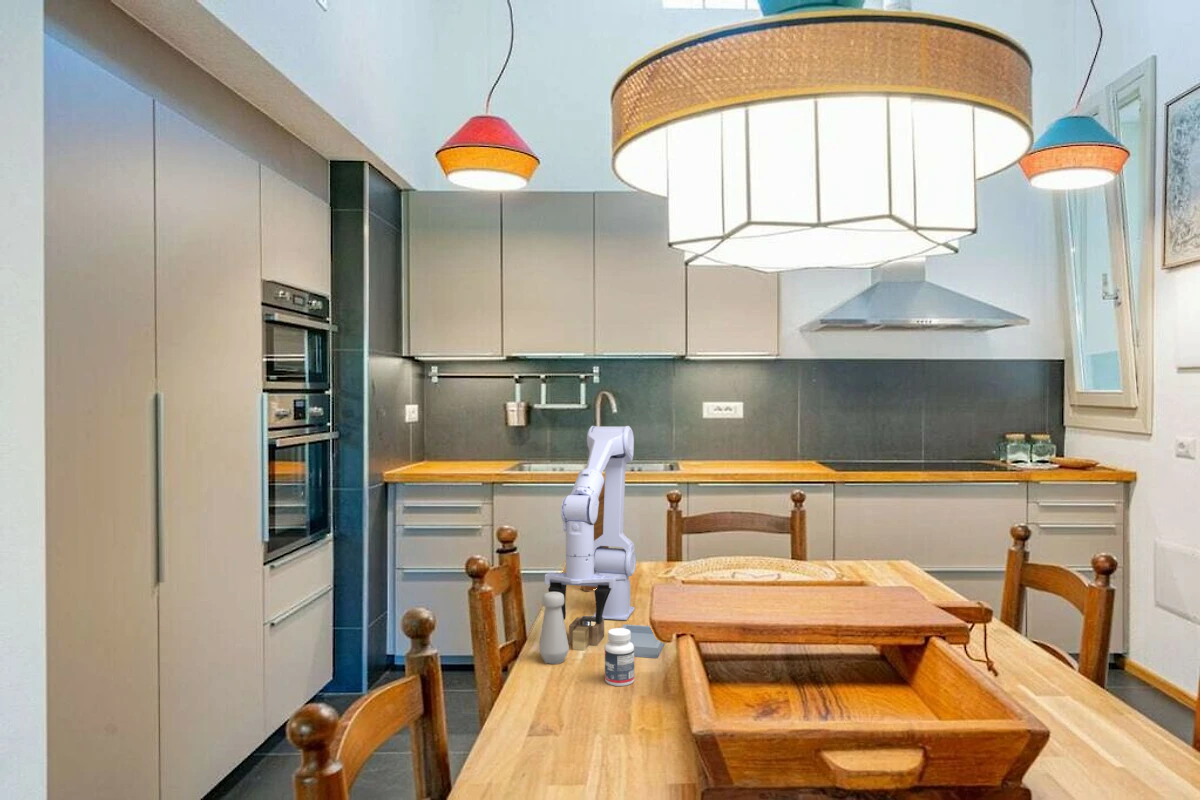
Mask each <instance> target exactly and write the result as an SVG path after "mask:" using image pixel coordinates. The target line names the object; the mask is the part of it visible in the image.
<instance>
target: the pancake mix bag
mask: <svg viewBox="0 0 1200 800" xmlns="http://www.w3.org/2000/svg"><path fill="white" fill-rule="evenodd" d="M604 490H605V479H604V484H603V487H602V489H601V492H600V495H599V498H598V500H599V507H598V516H597V519H596V522H595V523H594V541H595V540H596V539H597V538H599V537H600V536H601V535H603V519H604ZM602 548H610V546H603V547H602ZM581 588H582V589H584V590H583V591H584V592H588V591H587V590H593V589H596V588H598V587H597V586H580V589H581ZM582 589H581V590H582Z"/></svg>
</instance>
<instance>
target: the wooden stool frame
mask: <svg viewBox="0 0 1200 800" xmlns="http://www.w3.org/2000/svg"><path fill="white" fill-rule="evenodd" d="M604 637H605V619H603V622H601V623H600V624H596V623H594V625H591V626H586V625H583V622H582V617H581V616H580V617H576V618H575V619H574V620H573V621H572V622H571V623H570V624H569V625H568V644H571V645H572V650H573V649H574V651H575V650H576V651H585V650H586V649H587V648H588V647H589V646H599V644H600V643H601V641H602V640H603V639H604Z"/></svg>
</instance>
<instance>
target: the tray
mask: <svg viewBox="0 0 1200 800" xmlns="http://www.w3.org/2000/svg"><path fill="white" fill-rule="evenodd" d="M650 626H651V625H641V624H640V625H638V624H625V623H624V624H622V626H621V628H625V629H628V630H630V632H631V638H630V642H631V643H632V644H633V646H634V658H635V657H637V658H650V659H658V658H659V656H660V654H661V652H662V651H663V648H664V646H665V644H664V643H662V642H660V641H659V640H657V639H656V638H655V636H654V634H653V632H652V630H651V628H650Z"/></svg>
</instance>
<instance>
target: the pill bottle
mask: <svg viewBox="0 0 1200 800" xmlns="http://www.w3.org/2000/svg"><path fill="white" fill-rule="evenodd" d="M630 638H631V632H630V630H628V629H625V628H622V627H616V628H611V629H609V630H608V634H607V641H608V642H606V644H605V646H604V680H605V683H607V684H608V685H610V686H615V687H624V686H625V687H626V686H629V685H632V684H633V683H634V682H635V656H634V646H633V644H632V643H631V642H630Z"/></svg>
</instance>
